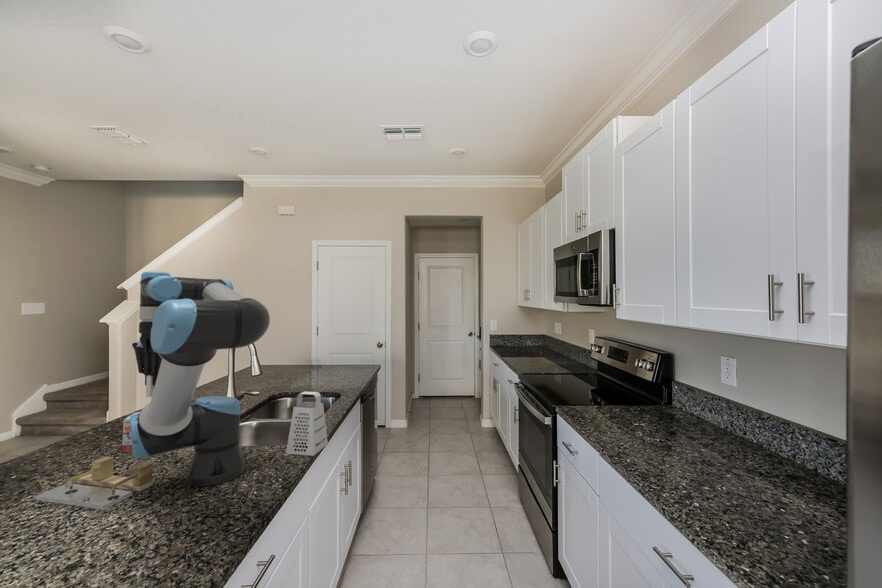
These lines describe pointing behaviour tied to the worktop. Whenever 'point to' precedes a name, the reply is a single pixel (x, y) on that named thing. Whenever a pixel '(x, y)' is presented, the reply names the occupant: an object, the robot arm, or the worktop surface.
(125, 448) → the ink box
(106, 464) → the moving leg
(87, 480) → the rail
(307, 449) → the grater
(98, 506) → the bolt plate
